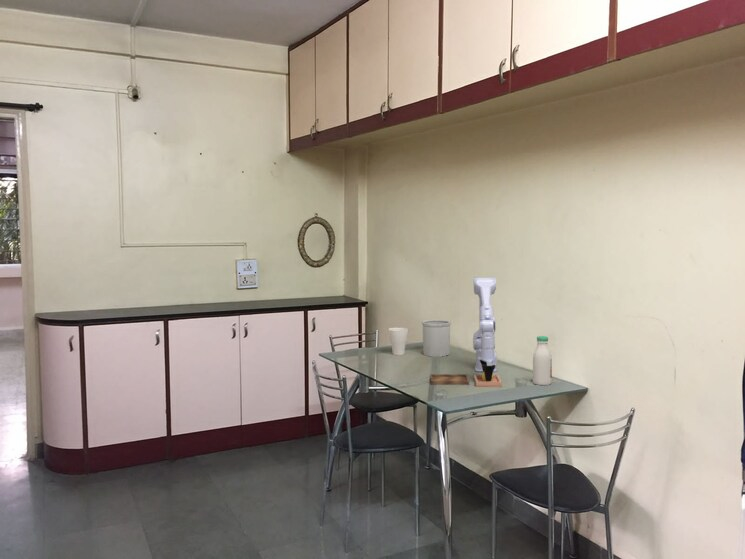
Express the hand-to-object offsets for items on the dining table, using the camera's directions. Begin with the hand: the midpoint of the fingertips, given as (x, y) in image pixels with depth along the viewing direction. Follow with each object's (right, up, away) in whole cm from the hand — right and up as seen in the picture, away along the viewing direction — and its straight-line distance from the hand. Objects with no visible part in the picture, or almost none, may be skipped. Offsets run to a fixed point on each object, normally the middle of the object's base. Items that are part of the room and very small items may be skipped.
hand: (487, 378), depth 264 cm
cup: (-35, +3, +62) cm, 71 cm away
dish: (0, -2, 0) cm, 2 cm away
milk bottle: (+23, -2, -2) cm, 23 cm away
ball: (0, +1, 0) cm, 1 cm away
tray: (-16, -2, +4) cm, 16 cm away
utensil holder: (-16, +3, +60) cm, 62 cm away
